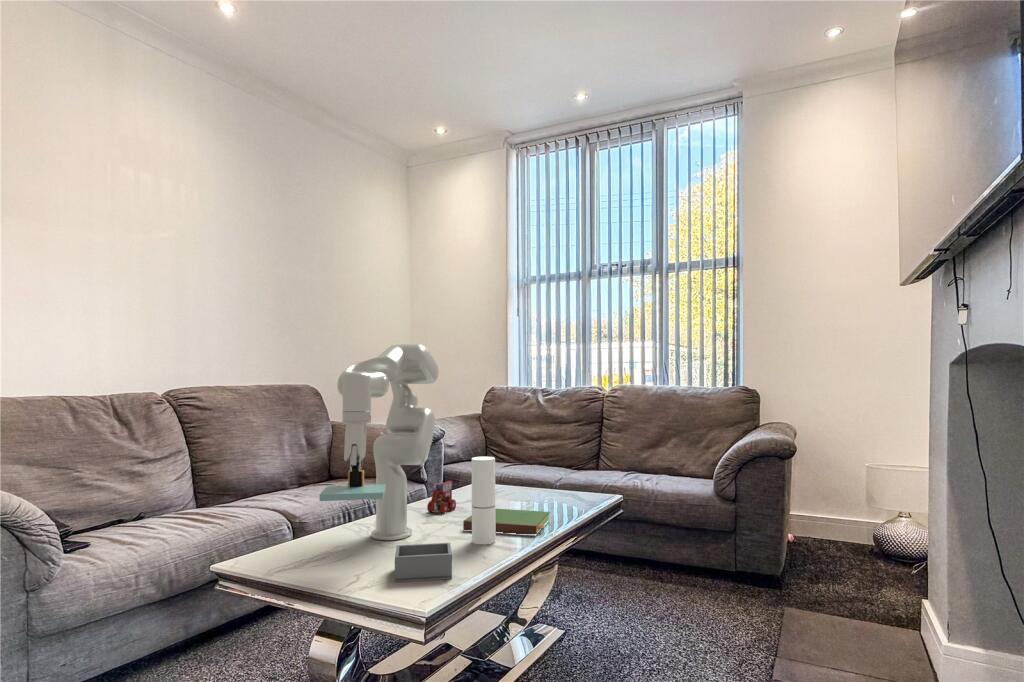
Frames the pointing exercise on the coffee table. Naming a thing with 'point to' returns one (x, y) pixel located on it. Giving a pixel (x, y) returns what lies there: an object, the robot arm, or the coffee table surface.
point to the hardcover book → (515, 521)
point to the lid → (353, 491)
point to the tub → (423, 562)
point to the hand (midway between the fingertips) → (356, 485)
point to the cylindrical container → (483, 500)
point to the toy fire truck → (442, 498)
